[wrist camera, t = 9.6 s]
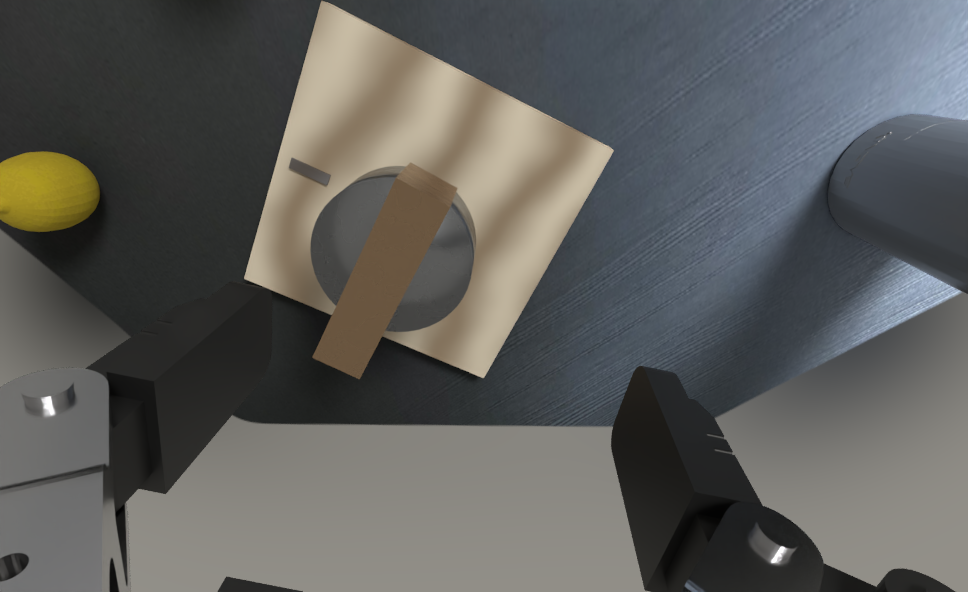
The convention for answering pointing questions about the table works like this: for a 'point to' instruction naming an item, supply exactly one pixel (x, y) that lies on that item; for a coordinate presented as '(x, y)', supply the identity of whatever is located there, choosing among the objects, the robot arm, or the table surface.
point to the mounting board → (440, 151)
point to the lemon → (46, 191)
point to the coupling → (389, 260)
